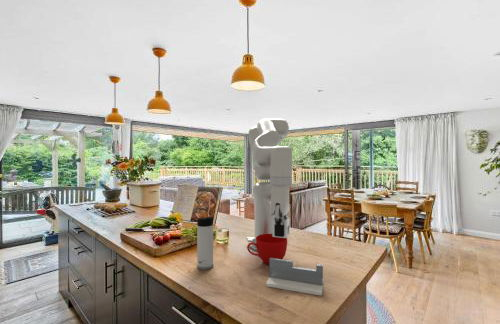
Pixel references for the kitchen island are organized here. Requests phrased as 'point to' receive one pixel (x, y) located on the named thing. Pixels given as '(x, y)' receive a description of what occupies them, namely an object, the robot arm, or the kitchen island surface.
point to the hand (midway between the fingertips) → (281, 233)
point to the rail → (295, 272)
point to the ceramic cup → (269, 247)
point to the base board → (295, 286)
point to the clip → (286, 226)
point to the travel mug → (205, 243)
